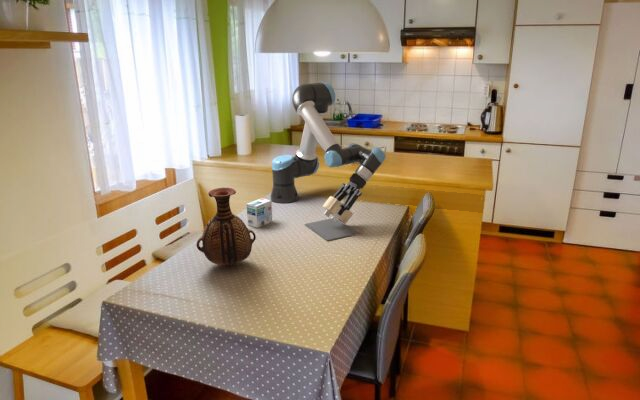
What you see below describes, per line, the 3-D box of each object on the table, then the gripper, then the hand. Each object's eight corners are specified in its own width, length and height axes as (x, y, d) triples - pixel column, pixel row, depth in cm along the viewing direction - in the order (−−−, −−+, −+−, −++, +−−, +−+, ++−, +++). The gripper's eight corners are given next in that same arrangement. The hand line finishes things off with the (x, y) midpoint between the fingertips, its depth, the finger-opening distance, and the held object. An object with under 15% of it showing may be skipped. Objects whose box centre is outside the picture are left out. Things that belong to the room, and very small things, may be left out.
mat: (304, 225, 219) (304, 223, 219) (334, 218, 226) (334, 217, 226) (327, 241, 201) (327, 240, 201) (358, 234, 208) (358, 232, 208)
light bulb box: (257, 228, 217) (256, 206, 213) (247, 225, 221) (245, 203, 217) (273, 221, 225) (272, 200, 221) (263, 218, 229) (261, 197, 225)
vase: (258, 254, 189) (254, 183, 180) (254, 275, 172) (248, 197, 163) (205, 256, 189) (197, 184, 179) (195, 277, 172) (186, 199, 162)
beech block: (338, 220, 218) (322, 206, 212) (346, 210, 218) (330, 195, 212) (345, 224, 213) (328, 209, 206) (353, 213, 213) (337, 199, 207)
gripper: (377, 187, 208) (345, 228, 205) (354, 177, 223) (324, 215, 221) (367, 177, 203) (335, 219, 201) (344, 168, 219) (314, 207, 217)
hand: (329, 217), depth 211 cm, fingers closed on beech block, 6 cm apart
